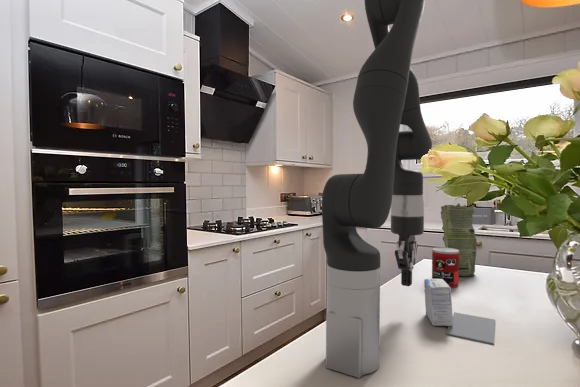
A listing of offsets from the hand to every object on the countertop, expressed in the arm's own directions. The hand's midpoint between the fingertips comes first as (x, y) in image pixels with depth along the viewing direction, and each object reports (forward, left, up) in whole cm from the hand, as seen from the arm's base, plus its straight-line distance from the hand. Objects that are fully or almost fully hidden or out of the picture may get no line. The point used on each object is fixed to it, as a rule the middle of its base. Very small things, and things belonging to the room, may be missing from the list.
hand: (406, 285), depth 83 cm
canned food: (+33, -4, -7) cm, 34 cm away
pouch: (+50, -6, -7) cm, 51 cm away
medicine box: (0, -7, -7) cm, 10 cm away
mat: (0, -14, -7) cm, 16 cm away
